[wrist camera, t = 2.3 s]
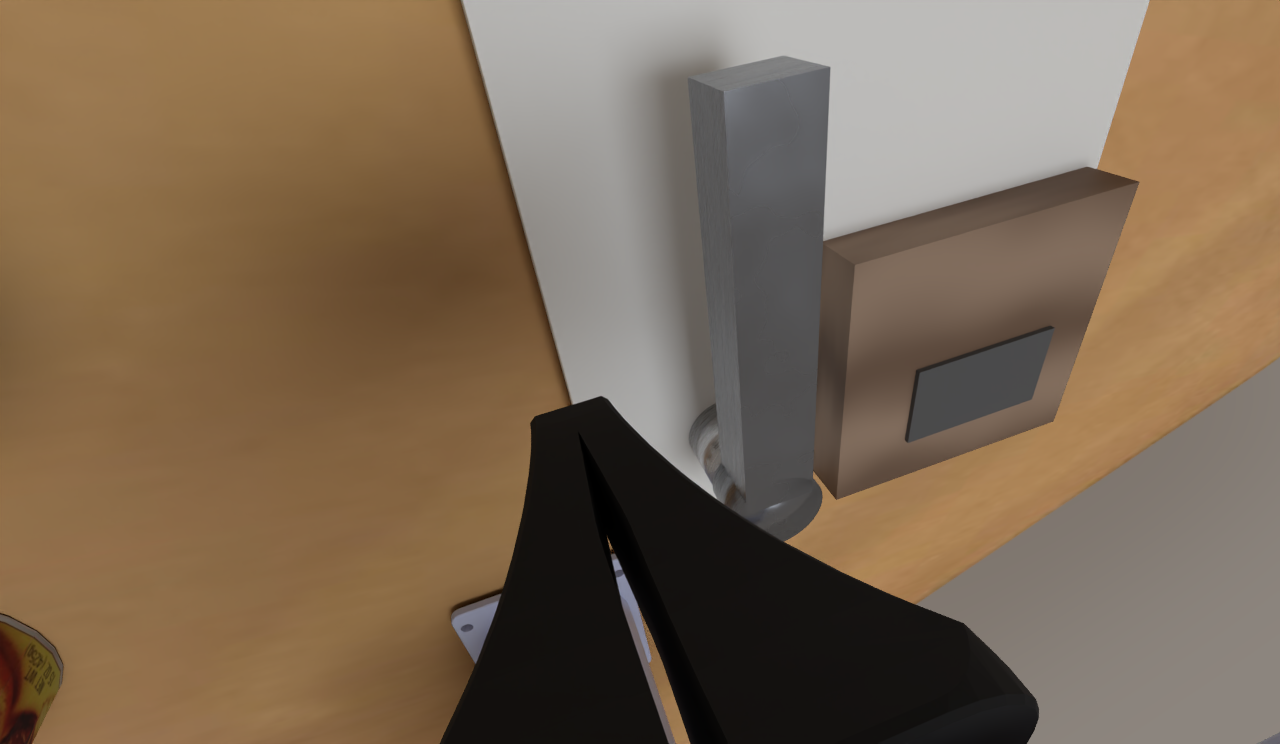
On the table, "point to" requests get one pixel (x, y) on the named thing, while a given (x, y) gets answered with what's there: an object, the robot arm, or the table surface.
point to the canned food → (25, 681)
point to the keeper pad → (976, 383)
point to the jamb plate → (856, 148)
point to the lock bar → (763, 277)
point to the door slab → (955, 315)
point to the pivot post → (706, 441)
